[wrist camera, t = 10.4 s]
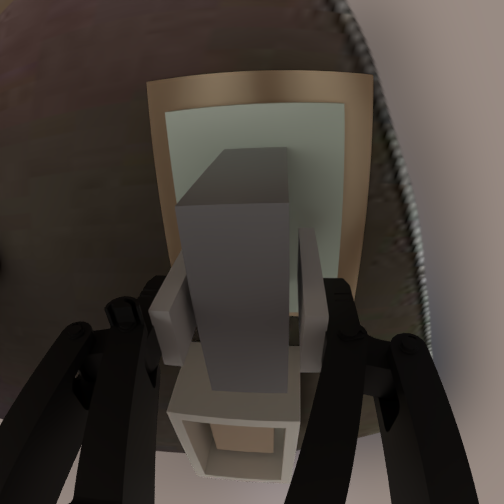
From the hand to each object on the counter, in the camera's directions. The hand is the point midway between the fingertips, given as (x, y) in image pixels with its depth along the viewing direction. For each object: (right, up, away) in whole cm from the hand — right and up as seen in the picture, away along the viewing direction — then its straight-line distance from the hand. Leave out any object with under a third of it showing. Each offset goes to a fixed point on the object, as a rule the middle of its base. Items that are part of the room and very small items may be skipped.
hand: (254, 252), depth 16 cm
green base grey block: (0, +2, +4) cm, 5 cm away
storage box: (-1, -14, +15) cm, 21 cm away
